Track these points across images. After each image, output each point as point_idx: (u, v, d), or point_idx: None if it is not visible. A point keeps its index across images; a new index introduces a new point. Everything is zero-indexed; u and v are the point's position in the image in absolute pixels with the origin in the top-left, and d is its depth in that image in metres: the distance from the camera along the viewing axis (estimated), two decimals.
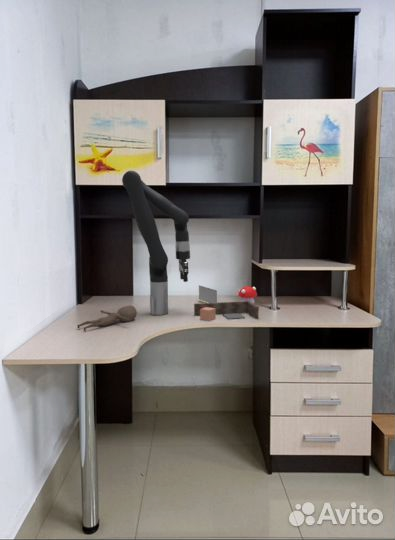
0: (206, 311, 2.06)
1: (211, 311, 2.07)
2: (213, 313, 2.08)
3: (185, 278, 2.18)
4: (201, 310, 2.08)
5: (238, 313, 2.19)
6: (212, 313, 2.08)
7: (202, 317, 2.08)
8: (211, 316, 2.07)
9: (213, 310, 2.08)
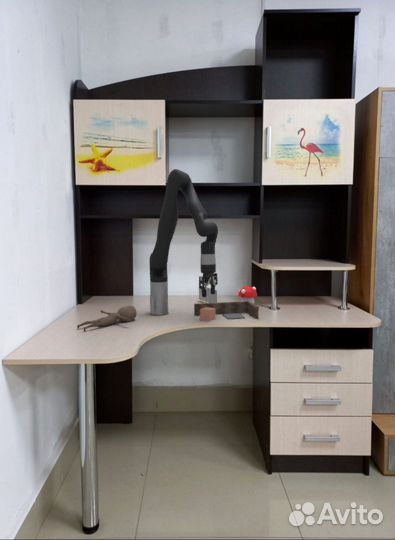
0: (206, 311, 2.06)
1: (211, 311, 2.07)
2: (213, 313, 2.08)
3: None
4: (201, 310, 2.08)
5: (238, 313, 2.19)
6: (212, 313, 2.08)
7: (202, 317, 2.08)
8: (211, 316, 2.07)
9: (213, 310, 2.08)
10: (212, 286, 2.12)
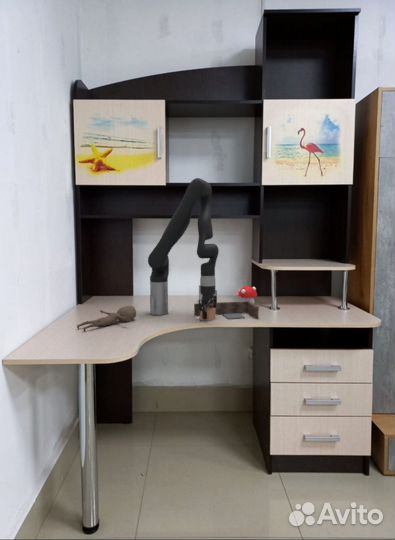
0: None
1: (211, 311, 2.07)
2: (213, 313, 2.08)
3: None
4: None
5: (238, 313, 2.19)
6: (212, 312, 2.08)
7: None
8: (211, 316, 2.07)
9: (213, 310, 2.08)
10: None
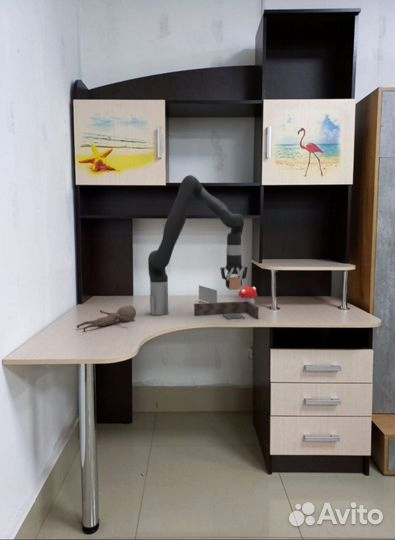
0: (229, 279, 2.10)
1: (233, 280, 2.09)
2: (237, 283, 2.10)
3: None
4: None
5: (238, 313, 2.19)
6: (236, 282, 2.09)
7: None
8: (232, 285, 2.09)
9: (237, 280, 2.09)
10: None
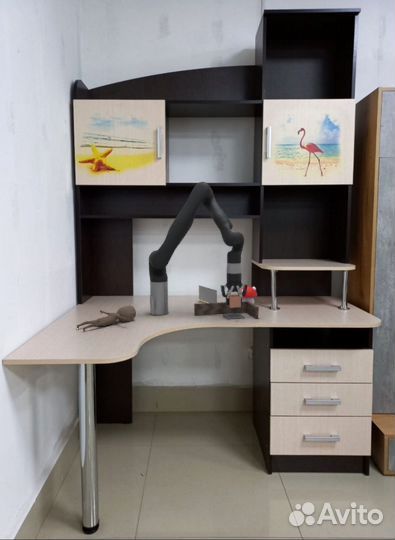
0: (229, 297, 2.12)
1: (233, 298, 2.11)
2: (237, 300, 2.11)
3: None
4: None
5: (238, 313, 2.19)
6: (236, 300, 2.11)
7: None
8: (232, 303, 2.11)
9: (237, 298, 2.11)
10: None
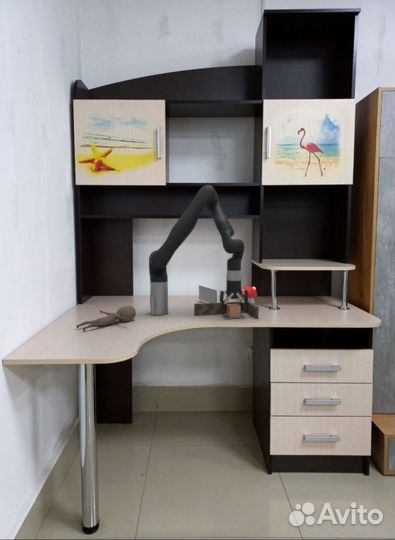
0: (228, 307, 2.12)
1: (233, 308, 2.11)
2: (236, 310, 2.11)
3: None
4: (227, 305, 2.15)
5: None
6: (235, 309, 2.11)
7: (227, 313, 2.15)
8: (232, 312, 2.11)
9: (236, 307, 2.11)
10: (241, 302, 2.14)
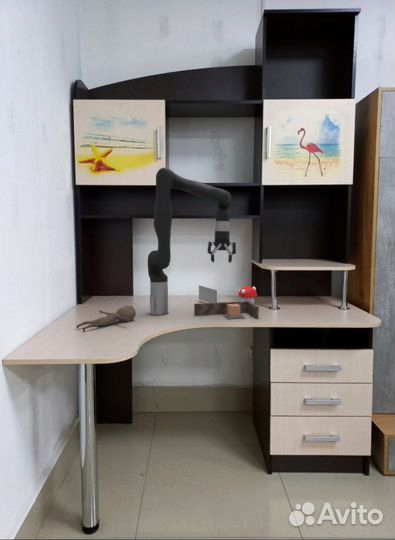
0: (228, 307, 2.12)
1: (233, 308, 2.11)
2: (236, 310, 2.11)
3: None
4: (227, 305, 2.15)
5: None
6: (235, 309, 2.11)
7: (227, 313, 2.15)
8: (232, 312, 2.11)
9: (236, 307, 2.11)
10: (229, 254, 2.14)
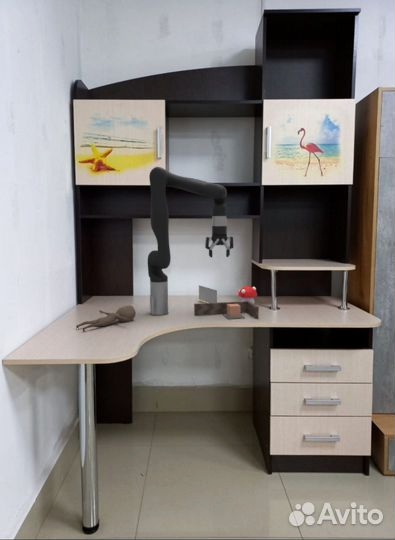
0: (228, 307, 2.12)
1: (233, 308, 2.11)
2: (236, 310, 2.11)
3: None
4: (227, 305, 2.15)
5: None
6: (235, 309, 2.11)
7: (227, 313, 2.15)
8: (232, 312, 2.11)
9: (236, 307, 2.11)
10: None
